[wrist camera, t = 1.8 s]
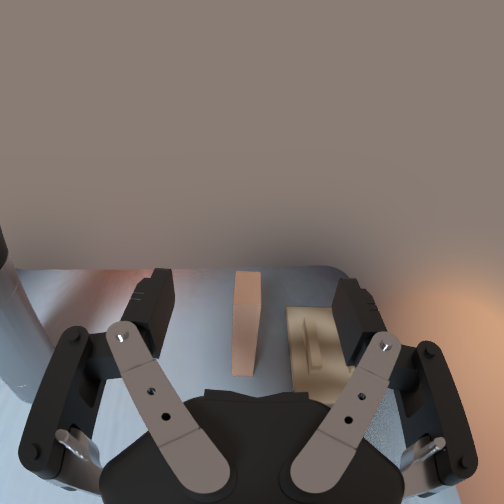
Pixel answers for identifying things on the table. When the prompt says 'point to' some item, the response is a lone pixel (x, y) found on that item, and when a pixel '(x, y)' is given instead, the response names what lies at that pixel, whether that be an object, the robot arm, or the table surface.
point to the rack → (316, 354)
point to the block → (245, 322)
